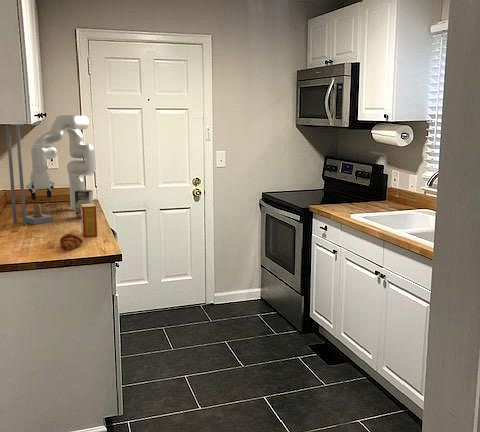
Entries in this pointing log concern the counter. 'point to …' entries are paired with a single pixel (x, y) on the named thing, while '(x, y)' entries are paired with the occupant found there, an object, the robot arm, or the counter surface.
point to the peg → (37, 210)
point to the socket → (39, 219)
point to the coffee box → (82, 199)
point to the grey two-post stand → (19, 172)
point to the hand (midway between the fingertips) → (41, 198)
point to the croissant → (70, 241)
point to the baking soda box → (88, 220)
